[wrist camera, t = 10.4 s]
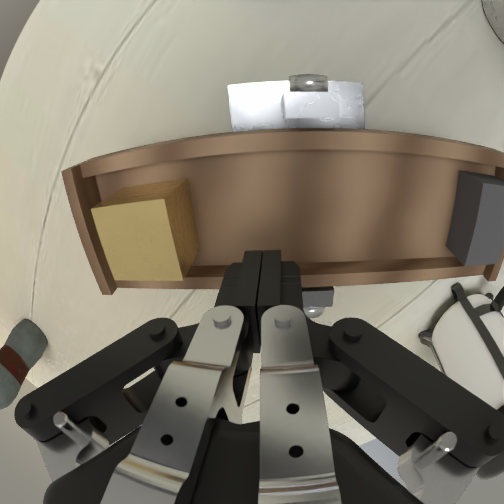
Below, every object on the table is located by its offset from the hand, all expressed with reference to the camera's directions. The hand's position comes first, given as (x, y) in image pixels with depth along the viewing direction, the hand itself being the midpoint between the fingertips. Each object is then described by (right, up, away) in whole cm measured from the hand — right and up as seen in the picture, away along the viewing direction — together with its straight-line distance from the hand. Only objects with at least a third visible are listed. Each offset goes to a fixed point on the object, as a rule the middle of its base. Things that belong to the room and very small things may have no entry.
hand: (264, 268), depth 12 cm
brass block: (-7, +3, +6) cm, 10 cm away
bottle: (-51, -18, +34) cm, 64 cm away
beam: (+3, +4, +7) cm, 8 cm away
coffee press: (+32, -8, +21) cm, 39 cm away
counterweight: (+16, +4, +4) cm, 17 cm away
